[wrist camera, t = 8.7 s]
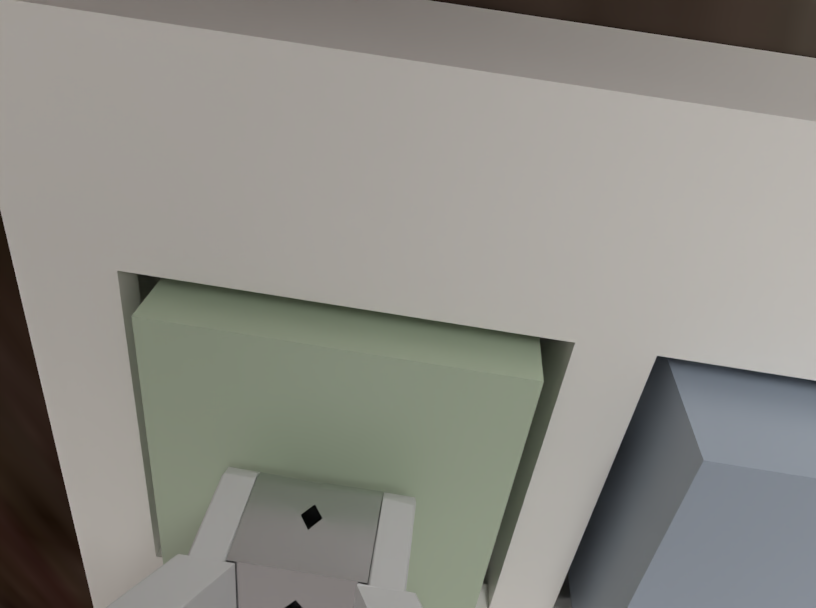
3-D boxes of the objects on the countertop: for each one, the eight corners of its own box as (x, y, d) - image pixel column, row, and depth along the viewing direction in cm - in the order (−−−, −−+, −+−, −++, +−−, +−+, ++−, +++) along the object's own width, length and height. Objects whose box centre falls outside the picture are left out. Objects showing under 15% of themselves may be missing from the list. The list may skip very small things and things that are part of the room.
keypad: (107, -48, 11) (-51, -10, 8) (1690, 189, 11) (2218, 333, 8) (169, 504, 19) (101, 641, 16) (1098, 656, 19) (1229, 829, 15)
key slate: (656, 326, 11) (703, 460, 9) (1019, 383, 11) (1171, 535, 9) (565, 552, 15) (581, 695, 12) (845, 597, 14) (919, 752, 12)
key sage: (204, 223, 12) (131, 316, 10) (532, 274, 12) (544, 381, 10) (216, 455, 16) (164, 569, 13) (474, 497, 16) (471, 620, 13)
